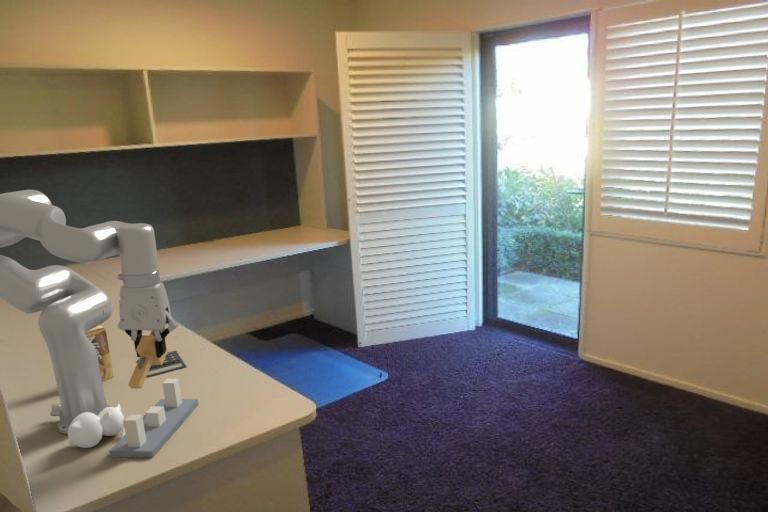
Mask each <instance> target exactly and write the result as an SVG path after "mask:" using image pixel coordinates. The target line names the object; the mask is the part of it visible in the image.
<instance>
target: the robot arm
mask: <svg viewBox="0 0 768 512" xmlns="http://www.w3.org/2000/svg"><path fill="white" fill-rule="evenodd" d="M155 234H156V233H155V229H154V227H153V226H152V225H151V224H149V223H145V222H144V223H138V222H137V223H128V222H124V221H119V220H110V221H106V222H102V223H97V224H94V225H91V226H90V225H89V226H86V227H83V228H81V227H80V228H79V227H73V226H70V225H67V219H66V215H65V212H64V211H63V209H61V208H60V207H58V206H56V205H54V204H52V202H51V200H50V199H49V197H48V196H47V195H46V194H44V193H43V192H41V191H39V190H37V189H23V190H16V191H9V192H4V193H0V248H6V247H8V246H13V245H14V244H16V243H18V242H20V241H22V240H23V239H25V238H29V239H32V240H35V241H40V243H41V245H42V247H43V248H45V249H46V251H48V252H49V253H50V254H51V255H53V256H55V257H58V258H60V259H65V260H68V261H71V262H74V263H75V262H76V263H78V264H79V263H80V264H92V263H96V262H99V261H102V260H104V259H108V258H110V257H114V256H116V255H119V259H120V266H121V273H118V275H117V279H118V280H119V281H122V284H123V285H121V286H120V290H119V301H118V304H119V306H118V307H119V322H118V324H117V328H118V329H120V330H122V331H123V332H125V334H126V335H128V336H129V337H130V339H131V341H133V345H134V351H135V353H136V357H137V358H140V355H139V354H138V352H137V351H136V349H137V346H138V344H139V342H140V340H141V337H142V335H143V331H152V330H154V333H155V336H156V339H157V341H155V346H156V354H157V358H160V357H161V356H162V355H163V354H165V352H166V348H167V344H166V343H167V342H166V337H167V336H168V335H169V334H170V333H171V332H173V331H174V330H175V329H177V328H178V327H179V324H178V322H177V321H176V320H175V318H174V317H173V316H172V311H171V306H170V302H169V297H168V294H167V293H168V292H167V290H166V288H165V285H164V283H163V282H161V277H160V269H159V268H160V267H159V260H158V252H157V243H156V242H157V241H156V235H155ZM0 299H2V301H5V302H6V303H7V304H9V305H10V306H12V307H13V308H15V309H16V310H18V311H20V312H21V313H25V314H35V313H39V312H40V314H39V315H38V318H37V319H38V321H37V324H38V325H37V326H38V328H39V331H40V333H41V336H42V338H43V340H44V342H45V344H46V346H47V349H48V353H49V356H50V360H51V364H52V370H53V373H54V378H55V382H56V387H57V394H58V396H59V401H60V403H54V404H53V405H52V407H51V411H50V413H49V415H50V417H59V421H58V423H57V429H58V431H59V432H60V433H61V434H64V435H68V428H69V426H70V424H71V422H72V421H73V420H74V419H75V418H76V417H77V416H78V415H80V414H82V413H85V412H90V413H93V414H95V415H97V416H98V414H99V413H100V412H101V411H102V410H103V409H105V408H107V407H113V406H112V405H109V404H107V399H106V395H105V393H106V392H105V389H104V383H103V381H102V378H101V373H100V367H99V362H98V357H97V353H96V349H95V347H94V345H93V344H92V343H91V342H90V341H89V339H88V338H87V337H86V335H85V333H86V332H87V331H89V330H91V329H92V328H94V327H97V326H101V325H102V324H103V323H106V321H108V320H109V319H110V318H111V316H112V314H113V311H114V306H113V302H112V300H111V299H110V297H109V295H108V294H107V293H106V292H105V291H104V290H102V289H101V288H99V286H97V285H96V284H94V283H92V282H91V281H89V280H88V279H86V278H85V277H84V276H82V275H81V274H79V273H77V272H76V271H74V270H73V269H71V268H69V267H67V266H64V265H59V264H54V265H48V266H45V267H42V268H39V269H29V268H27V267H25V266H23V265H22V264H20V263H19V262H17V261H16V260H14V259H12V258H11V257H8V256H5V255H2V254H0ZM166 324H168V326H167V328H166V329H165V325H166Z"/></svg>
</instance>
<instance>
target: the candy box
mask: <svg viewBox="0 0 768 512" xmlns="http://www.w3.org/2000/svg"><path fill="white" fill-rule="evenodd" d="M85 335H86V337H87V338H88V339H89V341H90V342H91V343H92V344H93V345H94V347H95V349H96V353H97V357H98V362H99V367H100V373H101V378H102V382H103V381H106V380H109V379H112V378H115V373H114V368H113V362H112V358H111V350H110V346H109V340H108V336H107V335H108V334H107V329H106V328H105V326H102V325H98V326H96V327H94V328H92V329H91V330H89V331H87V332H86V333H85Z"/></svg>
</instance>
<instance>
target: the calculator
mask: <svg viewBox="0 0 768 512" xmlns="http://www.w3.org/2000/svg"><path fill="white" fill-rule="evenodd" d="M136 361H137V362H136V363H138V361H139V359H137V360H136ZM186 368H187V366H186V364H185V362H184V361H183V359H182V358H181V356H180V354H179V353H178V352H177V350H173V351H172V350H171V351H167V354H166V356H165V359H164V362H163V364H162V365H151V367H150V369H149V372H148V374H147V376H146V379H148V378H152V377H156V376H159V375H163V374H166V373H167V374H168V373H170V372H175V371H178V369H179V370H183V369H186ZM174 370H175V371H174Z"/></svg>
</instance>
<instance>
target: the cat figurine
mask: <svg viewBox="0 0 768 512" xmlns="http://www.w3.org/2000/svg"><path fill="white" fill-rule="evenodd" d="M124 419H125V417H124V414H123V413H122V408H121V405H120V403H117V404H116V405H115V407H114V406H112V407H107V408H105V409H103V410H102V411H101V412H100V413H99V414H98V416H97V415H95V414H93V413H90V412H85V413H82V414H80V415H78V416H77V417H76V418H75V419H74V420H73V421H72V422H71V424H70V426H69V428H68V434H67V437H68V439H69V440H68V444H67V445H68V447H70V448H71V447H72V448H73V447H79V448H83V449H87V448H88V449H90V448H93V447H95V446H96V445H98V444H99V443H100V442H101V440H102V438H103V436H107V437H113V436H116V435H118V434H119V433H121V438H122V437H123V436H124V435H125V429H124V424H123V420H124ZM121 431H122V432H121ZM121 438H120V439H121Z"/></svg>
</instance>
